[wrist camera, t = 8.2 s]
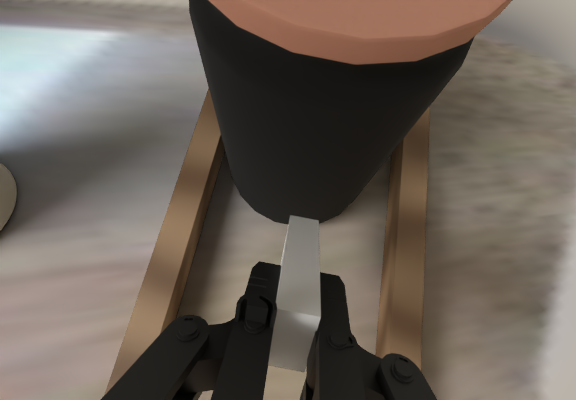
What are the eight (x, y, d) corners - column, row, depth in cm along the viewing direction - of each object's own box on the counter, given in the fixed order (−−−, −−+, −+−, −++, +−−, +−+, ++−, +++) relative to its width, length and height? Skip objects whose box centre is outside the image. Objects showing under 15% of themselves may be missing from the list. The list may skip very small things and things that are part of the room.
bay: (398, 456, 19) (421, 481, 17) (118, 400, 19) (93, 415, 17) (417, 96, 29) (433, 73, 26) (229, 59, 29) (225, 32, 26)
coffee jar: (310, 94, 28) (377, -226, 11) (385, 185, 26) (615, -55, 9) (207, 150, 26) (95, -157, 9) (279, 257, 23) (315, 114, 6)
